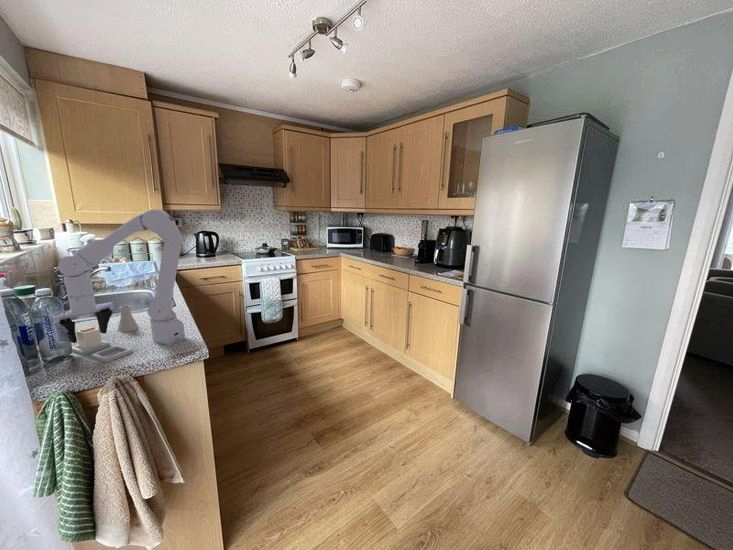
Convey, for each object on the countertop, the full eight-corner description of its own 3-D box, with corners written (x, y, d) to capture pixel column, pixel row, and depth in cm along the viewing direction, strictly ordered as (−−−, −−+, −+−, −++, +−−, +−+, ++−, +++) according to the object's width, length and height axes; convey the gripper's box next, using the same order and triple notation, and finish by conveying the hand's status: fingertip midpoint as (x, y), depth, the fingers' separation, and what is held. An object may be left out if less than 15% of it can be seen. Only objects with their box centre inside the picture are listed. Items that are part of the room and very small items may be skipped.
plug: (102, 346, 96) (99, 327, 94) (87, 352, 92) (83, 331, 91) (95, 344, 97) (91, 325, 96) (79, 349, 93) (75, 329, 92)
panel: (138, 354, 94) (137, 347, 94) (100, 369, 85) (99, 361, 85) (103, 344, 101) (102, 337, 100) (64, 357, 92) (63, 349, 91)
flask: (137, 327, 115) (134, 302, 113) (143, 332, 111) (140, 306, 109) (113, 333, 110) (109, 306, 108) (118, 338, 105) (114, 311, 103)
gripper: (101, 288, 99) (108, 327, 102) (41, 299, 86) (51, 344, 89) (114, 290, 97) (121, 330, 99) (55, 302, 83) (64, 348, 86)
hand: (89, 337), depth 94 cm, fingers open, 7 cm apart
